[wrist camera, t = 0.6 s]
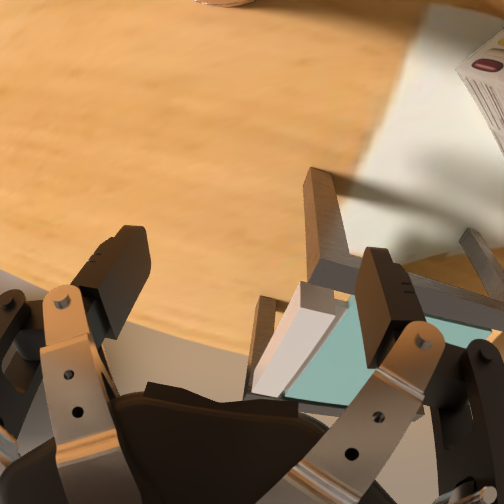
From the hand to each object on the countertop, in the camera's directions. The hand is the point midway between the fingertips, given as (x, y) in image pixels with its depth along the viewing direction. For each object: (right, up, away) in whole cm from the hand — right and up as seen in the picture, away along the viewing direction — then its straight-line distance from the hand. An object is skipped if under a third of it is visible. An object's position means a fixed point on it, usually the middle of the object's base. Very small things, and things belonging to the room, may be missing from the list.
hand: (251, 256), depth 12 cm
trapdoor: (+10, -9, +14) cm, 19 cm away
